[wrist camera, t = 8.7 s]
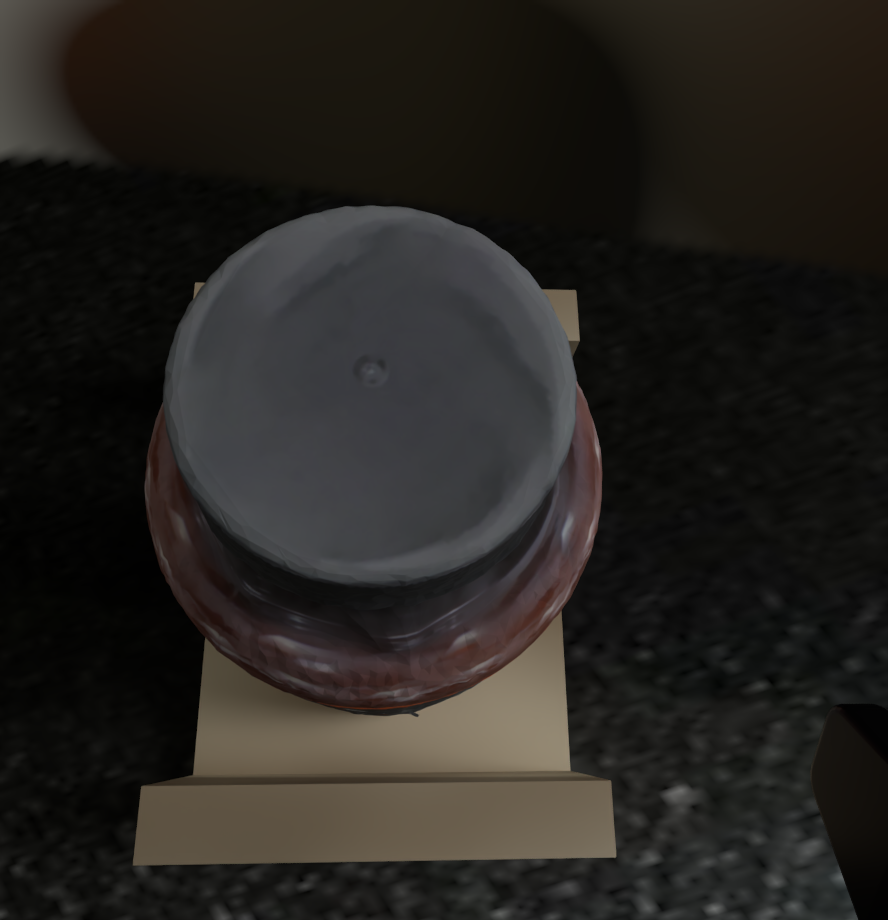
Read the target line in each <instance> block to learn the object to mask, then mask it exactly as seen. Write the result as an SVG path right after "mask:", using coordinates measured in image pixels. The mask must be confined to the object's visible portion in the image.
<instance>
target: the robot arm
mask: <svg viewBox="0 0 888 920" xmlns="http://www.w3.org/2000/svg"><path fill="white" fill-rule="evenodd" d="M811 785H812V790H813V794H814V797H815V800H816V803H817V805H818V808H819V811H820V814H821V817H822V819H823V822H824V825H825V828H826V831H827V833H828V836H829V839H830V842H831V845H832V847H833V850H834V853H835V856H836V859H837V861H838V864H839V867H840V870H841V873H842V875H843V878H844V881H845V884H846V887H847V889H848V892H849V895H850V898H851V901H852V903H853V906H854V909H855V912H856V915H857V917H858V920H888V710H887V709H885V708H883V707H882V706H879V705H875V704H839V705H836V706H834V707H833V708H832V709H831V710H830V711H829V712H828V714H827V717H826V720H825V723H824V726H823V730H822V733H821V736H820V739H819V743H818V746H817V749H816V752H815V756H814V759H813V762H812V767H811Z"/></svg>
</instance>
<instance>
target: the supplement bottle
mask: <svg viewBox="0 0 888 920" xmlns="http://www.w3.org/2000/svg"><path fill="white" fill-rule="evenodd" d="M145 475H146V480H145V502H146V511H147V519H148V525H149V529H150V532H151V535H152V541H153V544H154V548H155V552H156V555H157V558H158V562H159V566H160V569H161V571H162V573H163V574H164V576H165V579H166V582H167V583H168V584H169V585H170V587H171V590H172V592H173V595H174V596H175V598H176V600H177V601H178V603H179V604H180V605H181V606H182V608H183V609H184V611H185V612H186V614H187V616H188V617H189V618H190V619H191V621H192V622H193V623H194V625H195V626H196V627H197V628H198V630H199V631H200V632H201V633H202V634H203V636H204V637H205V638H206V639H207V640H208V641H209V642H210V643H211V644H212V645H213V646H214V647H215V649H216V650H217V651H218V652H219V653H221V654H222V655H224V656H225V657H227V658H228V659H230V660H231V661H232V662H234V663H235V664H236V665H238V666H239V667H241V668H242V669H243V670H245V671H246V672H247V673H249V674H250V675H251V676H253V677H255V678H257V679H259V680H261V681H263V682H265V683H267V684H269V685H271V686H273V687H275V688H277V689H279V690H281V691H283V692H285V693H290V694H293V695H294V696H297V697H300V698H302V699H305V700H307V701H311V702H314V703H317V704H320V705H323V706H326V707H330V708H334V709H337V710H342V711H346V712H350V713H353V714H363V715H373V716H392V715H398V714H411V715H413V716H415V717H418V716H419V715H418V714H417V713H414V712H417V711H420V710H422V709H424V708H426V707H430V706H432V705H435V704H437V703H440V702H443V701H445V700H447V699H449V698H452V697H455V696H458V695H460V694H461V693H463V692H465V691H466V690H469V689H471V688H473V687H474V686H476V685H477V684H479V683H480V682H482V681H483V680H485V679H487V678H489V677H490V676H492V675H493V674H495V673H496V672H498V671H499V670H501V669H502V668H504V667H505V666H506V665H508V664H509V663H510V662H512V661H513V660H514V659H516V658H517V657H518V656H520V655H521V654H522V653H523V652H524V651H525V650H526V649H527V648H528V647H529V646H530V645H532V644H533V643H534V642H535V641H536V640H537V638H538V637H539V636H540V635H541V634H542V633H543V632H544V631H545V630H546V629H547V627H548V626H549V625H550V623H551V622H552V621H553V620H554V618H556V617H557V616H558V615H559V613H560V612H561V610H562V608H563V607H564V605H565V604H566V603H567V601H568V600H569V599H570V597H571V595H572V593H573V591H574V589H575V587H576V585H577V583H578V580H579V578H580V576H581V574H582V572H583V570H584V568H585V565H586V563H587V561H588V558H589V556H590V554H591V550H592V546H593V541H594V536H595V534H596V532H597V527H598V519H599V515H600V507H601V497H602V463H601V450H600V446H599V441H598V437H597V434H596V430H595V426H594V422H593V419H592V417H591V414H590V412H589V408H588V404H587V401H586V399H585V397H584V395H583V392H582V389H581V388H580V387H579V385H578V383H577V376H576V373H575V369H574V365H573V359H572V354H571V349H570V345H569V341H568V337H567V335H566V333H565V331H564V329H563V327H562V325H561V323H560V321H559V319H558V317H557V315H556V313H555V311H554V309H553V307H552V305H551V303H550V301H549V298H548V297H547V295H546V294H545V293H544V292H543V291H542V289H541V288H540V287H539V285H538V283H537V282H536V281H535V280H534V278H533V277H532V276H531V274H530V273H529V272H528V270H526V269H525V268H524V267H523V266H521V265H520V264H519V263H518V262H517V261H516V260H515V259H514V258H513V257H512V256H511V255H510V254H509V253H508V252H506V251H505V250H503V249H502V248H500V247H499V246H497V245H496V244H495V243H493V242H492V241H491V240H490V239H488V238H487V237H486V236H484V235H482V234H481V233H479V232H477V231H476V230H474V229H472V228H468V227H465V226H462V225H459V224H456V223H454V222H452V221H450V220H448V219H445V218H443V217H440V216H438V215H434V214H431V213H427V212H423V211H419V210H415V209H412V208H405V207H397V206H392V207H380V206H362V207H342V208H336V209H331V210H326V211H323V212H320V213H314V214H310V215H306V216H303V217H300V218H298V219H295V220H292V221H289V222H286V223H284V224H282V225H280V226H278V227H275V228H273V229H271V230H268V231H266V232H265V233H263V234H262V235H260V236H258V237H257V238H255V239H254V240H252V241H251V242H249V243H248V244H246V245H245V246H244V247H242V248H241V249H240V250H238V251H237V252H236V253H234V254H233V255H231V256H229V257H228V259H227V260H226V261H225V262H224V263H223V264H222V265H221V266H220V267H219V268H218V269H217V270H216V271H215V272H214V273H213V274H212V275H211V276H210V277H209V278H208V280H207V281H206V283H205V284H204V285H203V286H201V288H200V290H199V291H198V293H197V295H196V296H195V298H194V299H193V300H192V301H191V303H190V304H189V305H188V308H187V310H186V312H185V315H184V316H183V318H182V320H181V321H180V323H179V325H178V327H177V330H176V333H175V336H174V341H173V343H172V345H171V348H170V352H169V357H168V360H167V364H166V367H165V380H164V386H163V403H162V406H161V408H160V411H159V413H158V416H157V419H156V422H155V426H154V430H153V434H152V438H151V442H150V445H149V450H148V455H147V468H146V474H145Z"/></svg>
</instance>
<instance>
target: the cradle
mask: <svg viewBox="0 0 888 920" xmlns="http://www.w3.org/2000/svg"><path fill="white" fill-rule="evenodd" d="M204 284H205V283H195V290H194V298H195V296H196V295H197V293H198V291H199V290H200V288H201V286H203V285H204ZM542 291H543V292H544V293H545V294H546V295H547V297H548V298H549V301H550V303H551V305H552V307H553V309H554V311H555V313H556V315H557V317H558V319H559V321H560V323H561V325H562V327H563V329H564V331H565V333H566V335H567V337H568V341H569V345H570V349H571V354H572V356H573V354H574V352H575V350H576V348H577V345H578V343H579V341H580V339H579V325H578V310H577V296H576V290H542ZM414 713H417V714H418V715H419V716H418V717H415V716H413V715H411V714H398V715H392V716H373V715H363V714H353V713H350V712H346V711H342V710H337V709H334V708H330V707H326V706H323V705H320V704H317V703H314V702H311V701H307V700H305V699H302V698H300V697H297V696H294V695H293V694H290V693H285V692H283V691H281V690H279V689H277V688H275V687H273V686H271V685H269V684H267V683H265V682H263V681H261V680H259V679H257V678H255V677H253V676H251V675H250V674H249V673H247V672H246V671H245V670H243V669H242V668H241V667H239V666H238V665H236V664H235V663H234V662H232V661H231V660H230V659H228V658H227V657H225V656H224V655H222V654H221V653H219V652H218V651H217V650H216V649H215V647H214V646H213V645H212V644H211V643H210V642H209V641H208V640H207V639H206V638H205V646H204V658H203V669H202V681H201V692H200V703H199V715H198V726H197V737H196V749H195V760H194V772H193V775H191V776H187V777H182V778H177V779H173V780H168V781H163V782H159V783H154V784H149V785H144V786H141V794H140V803H139V812H138V822H137V831H136V840H135V850H134V859H133V865H188V864H247V863H307V862H366V861H425V860H485V859H544V858H604V857H616V846H615V832H614V818H613V804H612V790H611V780H606V779H602V778H598V777H594V776H590V775H585V774H581V773H577V772H573V771H570V758H569V740H568V722H567V704H566V686H565V668H564V650H563V632H562V614H561V612H560V613H559V615H558V616H557V617H556V618H554V620H553V621H552V622H551V623H550V625H549V626H548V627H547V629H546V630H545V631H544V632H543V633H542V634H541V635H540V636H539V637H538V638H537V640H536V641H535V642H534V643H533V644H532V645H530V646H529V647H528V648H527V649H526V650H525V651H524V652H523V653H522V654H521V655H520V656H518V657H517V658H516V659H514V660H513V661H512V662H510V663H509V664H508V665H506V666H505V667H504V668H502V669H501V670H499V671H498V672H496V673H495V674H493V675H492V676H490V677H489V678H487V679H485V680H483V681H482V682H480V683H479V684H477V685H476V686H474V687H473V688H471V689H469V690H466V691H465V692H463V693H461V694H460V695H458V696H455V697H452V698H449V699H447V700H445V701H443V702H440V703H437V704H435V705H432V706H430V707H426V708H424V709H422V710H420V711H417V712H414Z"/></svg>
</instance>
